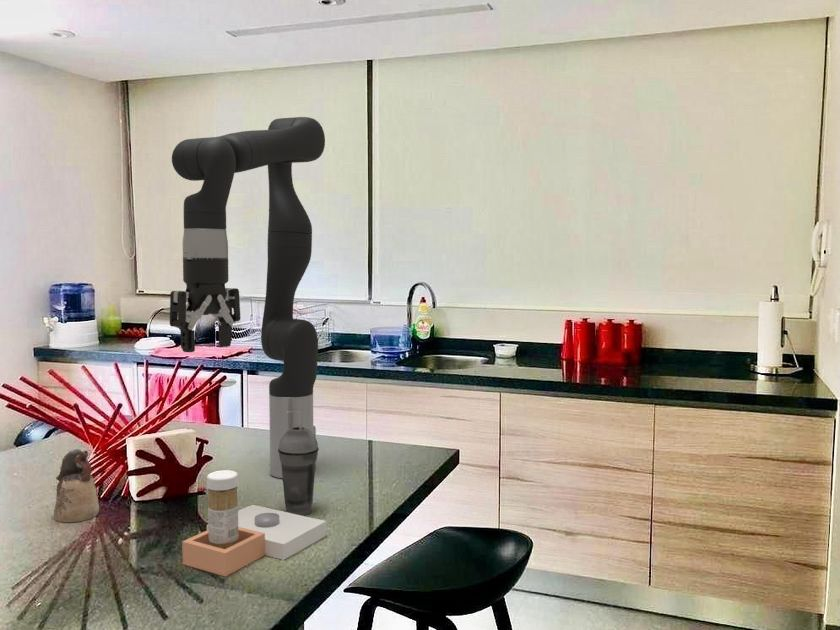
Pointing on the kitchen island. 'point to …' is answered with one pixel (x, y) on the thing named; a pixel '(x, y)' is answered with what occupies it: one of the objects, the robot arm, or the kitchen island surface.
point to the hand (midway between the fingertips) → (207, 349)
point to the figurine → (75, 489)
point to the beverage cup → (298, 468)
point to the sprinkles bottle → (222, 508)
